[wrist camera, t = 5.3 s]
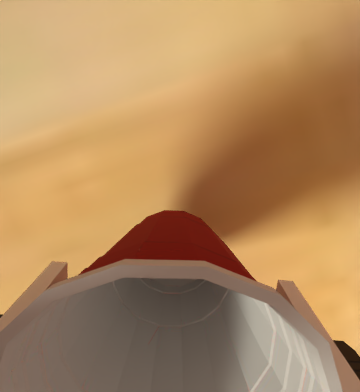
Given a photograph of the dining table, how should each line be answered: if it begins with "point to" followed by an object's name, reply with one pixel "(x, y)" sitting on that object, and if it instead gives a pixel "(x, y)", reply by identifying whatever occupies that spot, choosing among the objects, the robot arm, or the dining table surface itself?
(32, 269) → the dining table surface
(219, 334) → the plastic cup
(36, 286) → the robot arm
